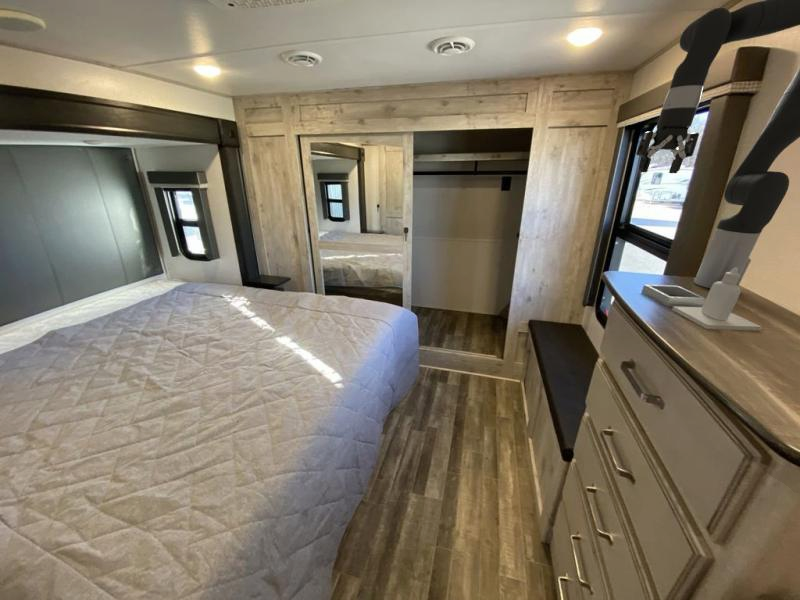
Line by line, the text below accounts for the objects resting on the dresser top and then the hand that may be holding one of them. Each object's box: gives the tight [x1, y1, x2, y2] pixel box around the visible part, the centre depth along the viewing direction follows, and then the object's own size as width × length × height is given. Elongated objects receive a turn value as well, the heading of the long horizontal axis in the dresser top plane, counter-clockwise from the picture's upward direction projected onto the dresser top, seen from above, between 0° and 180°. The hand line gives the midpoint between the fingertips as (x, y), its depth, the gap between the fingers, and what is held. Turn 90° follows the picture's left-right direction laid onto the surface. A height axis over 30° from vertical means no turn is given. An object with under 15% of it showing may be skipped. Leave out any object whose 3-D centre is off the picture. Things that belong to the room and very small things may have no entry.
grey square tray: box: [641, 284, 707, 308], centre depth 86 cm, size 10×10×2 cm
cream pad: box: [671, 306, 762, 332], centre depth 75 cm, size 12×10×1 cm
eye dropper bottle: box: [701, 268, 741, 321], centre depth 73 cm, size 4×6×12 cm
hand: (658, 172), depth 91 cm, fingers open, 8 cm apart
